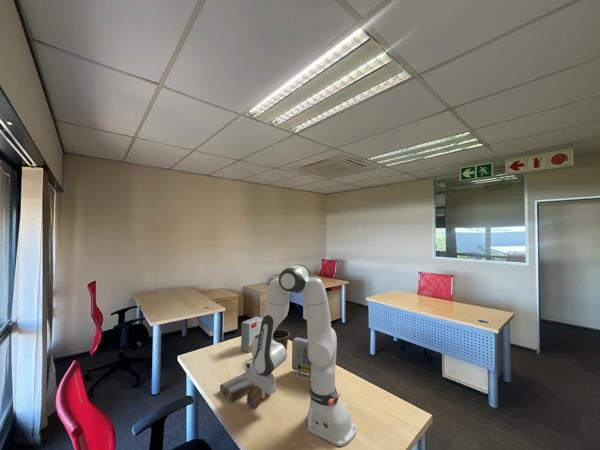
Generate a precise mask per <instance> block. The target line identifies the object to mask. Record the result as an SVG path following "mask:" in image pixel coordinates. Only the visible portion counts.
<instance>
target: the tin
mask: <svg viewBox="0 0 600 450" xmlns="http://www.w3.org/2000/svg"><path fill="white" fill-rule="evenodd" d="M260 393H262V389H260V388H259V387H258V386H254V387H252V388H251V389H250V390H249V392H248V394H247V395H246V402H247V404H248V405H249V406H250V407H251V408H256V407H258V406H259V405H260V404H262V403H264V402H265V401H266V400H268V399H269V398H270V397H271V396H272V395H269V394H267V393H265V397H264V398H262V397H260Z"/></svg>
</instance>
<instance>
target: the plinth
mask: <svg viewBox="0 0 600 450" xmlns="http://www.w3.org/2000/svg"><path fill="white" fill-rule="evenodd" d="M252 387H254V384H253V383H252V382H250V381H249V380H247V379H246V372H244V373H242V374H240V375H237V376H236V377H233V378H232V379H229V380H227V381H225V382H223V383H221V384H219V392H220V393H221V394H222V395H223V396H224V397H225V398H226V399H228V400H229V402H231V403H235V402H237V401H238V400H239V399H242V398H244V397H245V396H247V394H248V392H249V390H250V389H251V388H252Z"/></svg>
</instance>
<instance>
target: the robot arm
mask: <svg viewBox="0 0 600 450" xmlns="http://www.w3.org/2000/svg"><path fill="white" fill-rule="evenodd" d="M268 284H269V285H268V288H267V293H266V304H265V310H264V315H263V320H262V323H261V328H260V334H258V335H256V336H255V337H254V339H253V343H252V351H251V356H252V358H251V360H248V361H246V362H245V373H246V379H247V380H249V381H250V382H252V383H253V384H254V386H258V387H259V388H260V389H262V393H260V397H262V398H264V397H265V393H267V394H269V395H271V396H272V395H274V394H275V393H276V392H277V385H276V382H277V381H276V377H275V376H274V374H273V372H274V371H275V370H276V369H277V368H278V367H280V365H281V364H282V363H284V362H285V361H286V360H287V357H288V352H287V351H288V350H287V351H286V348H285V347H284V345H283V344H281V343H278V342H276V341H274V340H273V339H272V338H273V334H274V331H275V329H278V327H279V325H280V324H281V323H282V322H283V321H284V320H285V319H286V317H287V316H288V313H289V311H290V296H291V295H290V294H291V293H295V294H300V293H301V294H302V296H303V297H302V298H303V302H304V304H303V305H304V309H305V315H306V324H307V325H306V326H307V327H306V328H307V329H306V330H307V331H306V332H307V339H308V358H309V360H310V362H311V363H312V366H311V381H310V385H309V397H310V398H309V405H308V412H307V414H306V423H307V431H308V432H309V433H312V434H314V435H315V436H317V437H319V438H322V439H323V440H326V441H327V442H329V443H331V444H334V445H335V446H338V447H342V446H346V445H347V444H349V443H350V442H351V441H352V439H354V438H355V435H356V434H357V432H358V427H357V424H356V423H355V422H354V421H352V417H351V416H352V415H351V413H350V411H349V410H348V408H347V407H346V405H345V404H344V403H343V402H342V401H341V399H340V396H341V392H339V393H338V391H337V388H336V362H337V346H338V343H337V342H338V341H337V340H338V338H337V333H336V331H335V329H334V328H333V327H332V323H331V322H332V317H331V311H330V305H329V298H328V295H327V290H326V287H325V285H324V282H323V280H322V279H321V278H319V277H311V274H310V270H309V268H308V267H307V266H306V265H303V264H296V265H291V266H289V267H287V268H284V269H283V270H282V271H281V273H280V274H279V276H278V277H277V278H276V277H275V278H273V279H272V280H270V282H269V283H268Z"/></svg>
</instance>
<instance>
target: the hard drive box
mask: <svg viewBox="0 0 600 450" xmlns="http://www.w3.org/2000/svg"><path fill="white" fill-rule="evenodd" d="M262 320H263V318H262V317H259V316H254V317H252V318H250V319H246V320H244V321H242V322H241V335H240V336H241V337H240V339H241V340H240V351H243V352H245V353H250V352H251V353H252V343H253V339H254V337H255V336H256V335H258V334H260V328H261V323H262Z"/></svg>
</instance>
